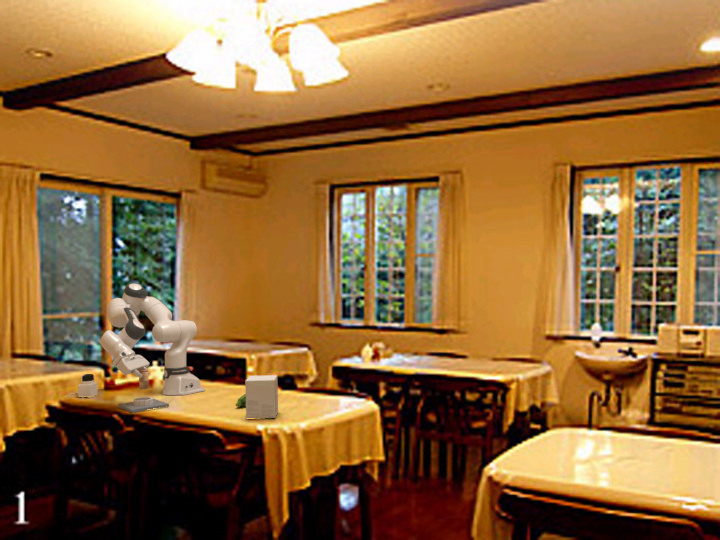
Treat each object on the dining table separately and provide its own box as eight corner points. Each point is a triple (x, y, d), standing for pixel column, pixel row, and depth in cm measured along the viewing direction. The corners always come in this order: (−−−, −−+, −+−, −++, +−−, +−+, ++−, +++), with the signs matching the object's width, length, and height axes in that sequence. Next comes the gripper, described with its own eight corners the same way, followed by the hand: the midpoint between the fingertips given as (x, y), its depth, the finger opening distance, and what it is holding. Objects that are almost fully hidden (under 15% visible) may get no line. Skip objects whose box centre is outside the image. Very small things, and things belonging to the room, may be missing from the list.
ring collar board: (153, 401, 323) (153, 393, 323) (169, 406, 310) (168, 398, 310) (118, 407, 311) (117, 398, 311) (132, 413, 298) (132, 404, 298)
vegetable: (262, 384, 320) (239, 392, 302) (268, 397, 319) (245, 406, 301) (252, 389, 323) (228, 398, 305) (257, 403, 322) (234, 412, 304)
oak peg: (149, 387, 312) (148, 368, 312) (148, 388, 308) (147, 370, 308) (140, 388, 311) (139, 369, 311) (139, 389, 307) (138, 371, 307)
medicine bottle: (97, 395, 341) (97, 373, 341) (90, 398, 334) (90, 375, 334) (85, 395, 342) (84, 373, 342) (77, 398, 334) (77, 375, 334)
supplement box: (278, 412, 294) (278, 374, 294) (275, 419, 281) (274, 379, 281) (250, 413, 294) (249, 375, 294) (245, 420, 281) (244, 380, 281)
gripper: (132, 358, 322) (151, 377, 320) (110, 364, 302) (130, 384, 300) (140, 349, 321) (159, 367, 319) (118, 354, 301) (138, 375, 299)
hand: (145, 376), depth 310 cm, fingers closed on oak peg, 4 cm apart
